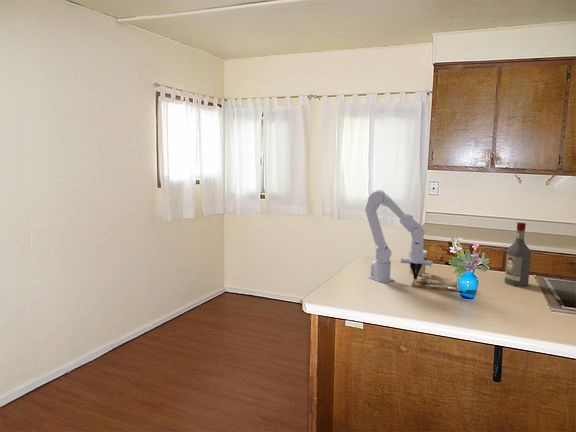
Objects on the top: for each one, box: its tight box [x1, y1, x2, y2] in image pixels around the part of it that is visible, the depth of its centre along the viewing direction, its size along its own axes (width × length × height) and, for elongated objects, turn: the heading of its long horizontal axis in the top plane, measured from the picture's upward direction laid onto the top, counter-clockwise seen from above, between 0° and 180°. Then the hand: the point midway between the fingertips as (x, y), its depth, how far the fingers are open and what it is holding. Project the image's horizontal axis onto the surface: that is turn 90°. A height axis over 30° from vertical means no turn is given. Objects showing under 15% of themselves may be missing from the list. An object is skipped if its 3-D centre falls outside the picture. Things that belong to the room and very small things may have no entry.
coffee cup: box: [408, 249, 428, 276], centre depth 230 cm, size 9×9×12 cm
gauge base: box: [411, 277, 459, 293], centre depth 207 cm, size 24×12×5 cm, turn 69°
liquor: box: [504, 222, 532, 287], centre depth 211 cm, size 9×9×30 cm
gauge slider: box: [420, 273, 432, 284], centre depth 208 cm, size 4×8×3 cm, turn 159°
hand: (415, 278), depth 211 cm, fingers closed
